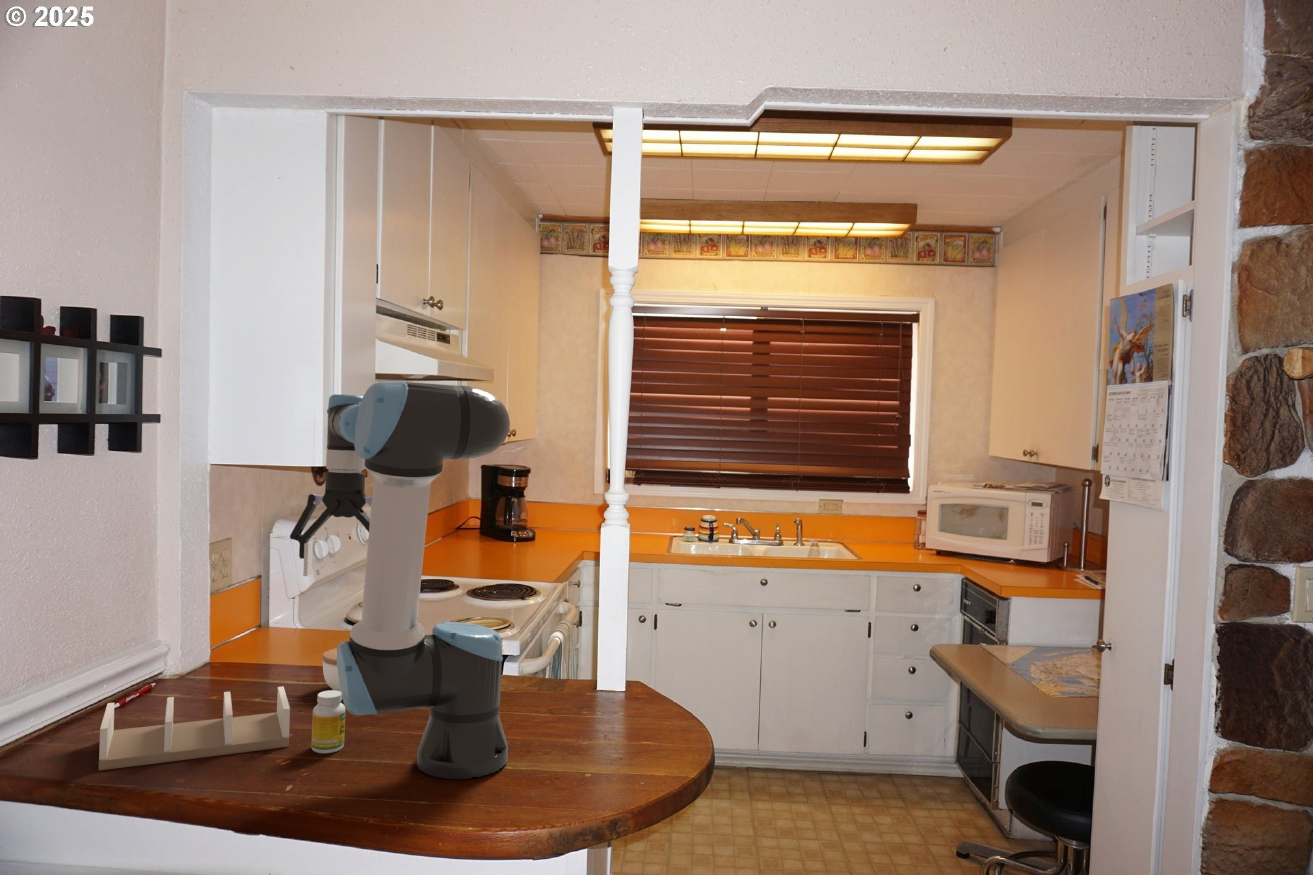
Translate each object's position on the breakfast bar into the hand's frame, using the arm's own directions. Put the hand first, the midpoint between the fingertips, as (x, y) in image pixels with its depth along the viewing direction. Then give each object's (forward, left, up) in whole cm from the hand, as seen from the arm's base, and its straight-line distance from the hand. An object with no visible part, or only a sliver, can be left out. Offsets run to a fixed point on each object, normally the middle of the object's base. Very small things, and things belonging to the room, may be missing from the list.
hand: (341, 575), depth 175 cm
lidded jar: (+5, -3, -25) cm, 26 cm away
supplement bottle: (-26, +5, -25) cm, 36 cm away
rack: (-16, +25, -25) cm, 39 cm away
